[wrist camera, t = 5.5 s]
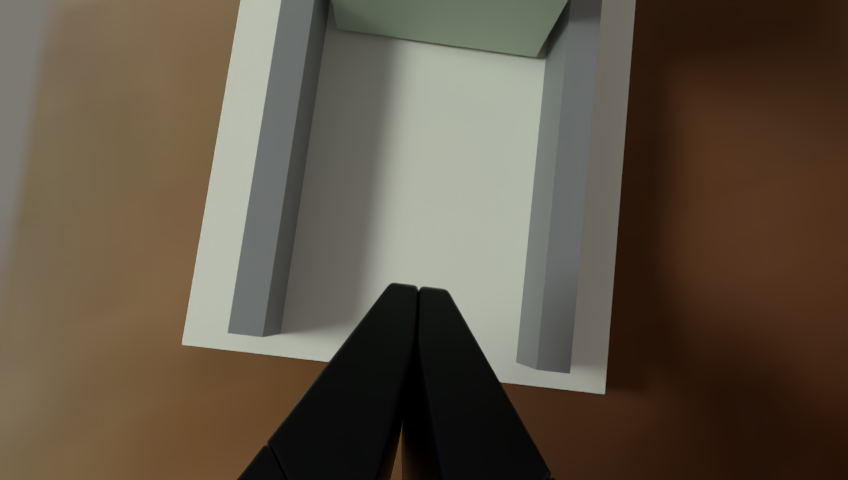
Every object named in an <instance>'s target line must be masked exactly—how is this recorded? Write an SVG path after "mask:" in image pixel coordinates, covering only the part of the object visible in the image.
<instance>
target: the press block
mask: <svg viewBox="0 0 848 480" xmlns="http://www.w3.org/2000/svg"><path fill="white" fill-rule="evenodd" d="M567 1H568V0H332V4H333V10H334V15H335V21H336V26H337V29H339V30H347V31H354V32H361V33H368V34H375V35H382V36H389V37H396V38H403V39H410V40H417V41H425V42H432V43H439V44H446V45H453V46H460V47H467V48H474V49H481V50H488V51H495V52H503V53H510V54H517V55H524V56H531V57H536V56H537V54H538V52H539V51H540V49H541V47H542V45H543V44H544V42H545V40H546V38H547V37H548V35H549V33H550V31H551V30H552V28H553V26H554V24H555V23H556V21H557V19H558V17H559V15H560V14H561V12H562V10H563V8H564V7H565V5H566V3H567Z"/></svg>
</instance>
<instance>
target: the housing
mask: <svg viewBox="0 0 848 480" xmlns="http://www.w3.org/2000/svg"><path fill="white" fill-rule="evenodd" d="M635 4H636V0H568V1H567V3H566V5H565V7H564V8H563V10H562V12H561V14H560V15H559V17H558V19H557V21H556V23H555V24H554V26H553V28H552V30H551V31H550V33H549V35H548V37H547V38H546V40H545V42H544V44H543V45H542V47H541V49H540V51H539V52H538V54H537V56H536V57H531V56H524V55H517V54H510V53H503V52H495V51H488V50H481V49H474V48H467V47H460V46H453V45H446V44H439V43H432V42H425V41H417V40H410V39H403V38H396V37H389V36H382V35H375V34H368V33H361V32H354V31H347V30H339V29H337V26H336V21H335V15H334V10H333V4H332V0H241V1H240V7H239V13H238V19H237V24H236V30H235V36H234V42H233V48H232V54H231V60H230V65H229V71H228V77H227V83H226V89H225V95H224V100H223V106H222V112H221V118H220V124H219V130H218V136H217V141H216V147H215V153H214V159H213V165H212V171H211V176H210V182H209V188H208V194H207V200H206V206H205V212H204V217H203V223H202V229H201V235H200V241H199V247H198V252H197V258H196V264H195V270H194V276H193V282H192V288H191V293H190V299H189V305H188V311H187V317H186V323H185V328H184V334H183V340H182V345H189V346H198V347H206V348H215V349H223V350H232V351H240V352H249V353H257V354H266V355H274V356H283V357H291V358H300V359H308V360H317V361H325V362H329V361H330V360H331V359H332V357H333V356H334V355H335V353H336V352H337V351H338V350H339V348H340V347H341V346H342V344H343V343H344V342H345V341H346V339H347V338H348V337H349V335H350V334H351V333H352V332H353V330H354V329H355V328H356V326H357V325H358V324H359V322H360V321H361V320H362V319H363V317H364V316H365V315H366V313H367V312H368V311H369V310H370V308H371V307H372V306H373V304H374V303H375V302H376V300H377V299H378V298H379V297H380V295H381V294H382V293H383V291H384V290H385V289H386V288H387V286H388V285H389V284H391V283H402V284H410V285H415V286H417V288H418V291H419V289H420V288H421V287H423V286H426V287H434V288H442V289H446V290H447V291H448V292H449V293H450V295H451V296H452V298H453V300H454V302H455V304H456V305H457V307H458V309H459V311H460V312H461V314H462V316H463V318H464V320H465V321H466V323H467V325H468V327H469V328H470V330H471V332H472V334H473V335H474V337H475V339H476V341H477V343H478V344H479V346H480V348H481V350H482V351H483V353H484V355H485V357H486V358H487V360H488V362H489V364H490V366H491V367H492V369H493V371H494V373H495V374H496V376H497V378H498V380H499V381H500V382H504V383H512V384H521V385H529V386H538V387H546V388H555V389H563V390H572V391H580V392H589V393H597V394H605V386H606V373H607V360H608V347H609V335H610V322H611V309H612V297H613V284H614V271H615V258H616V246H617V233H618V220H619V207H620V195H621V182H622V169H623V156H624V144H625V131H626V118H627V105H628V93H629V80H630V67H631V55H632V42H633V29H634V16H635Z"/></svg>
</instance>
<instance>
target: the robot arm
mask: <svg viewBox="0 0 848 480" xmlns="http://www.w3.org/2000/svg"><path fill="white" fill-rule="evenodd" d="M402 421H403V422H402ZM401 427H402V450H401V451H402V480H555V479H554V478H553V477H550V476H551V472H550V470H549V468H548V466H547V465H546V463H545V461H544V459H543V458H542V456H541V454H540V452H539V451H538V449H537V447H536V445H535V443H534V442H533V440H532V438H531V436H530V435H529V433H528V431H527V429H526V428H525V426H524V424H523V422H522V420H521V419H520V417H519V415H518V413H517V412H516V410H515V408H514V406H513V405H512V403H511V401H510V399H509V397H508V396H507V394H506V392H505V390H504V389H503V387H502V385H501V383H500V381H499V380H498V378H497V376H496V374H495V373H494V371H493V369H492V367H491V366H490V364H489V362H488V360H487V358H486V357H485V355H484V353H483V351H482V350H481V348H480V346H479V344H478V343H477V341H476V339H475V337H474V335H473V334H472V332H471V330H470V328H469V327H468V325H467V323H466V321H465V320H464V318H463V316H462V314H461V312H460V311H459V309H458V307H457V305H456V304H455V302H454V300H453V298H452V296H451V295H450V293H449V292H448V291H447V290H446V289H442V288H434V287H426V286H423V287H421V288H420V289H419V291H418V288H417V286H415V285H410V284H402V283H391V284H389V285H388V286H387V288H386V289H385V290H384V291H383V293H382V294H381V295H380V297H379V298H378V299H377V300H376V302H375V303H374V304H373V306H372V307H371V308H370V310H369V311H368V312H367V313H366V315H365V316H364V317H363V319H362V320H361V321H360V322H359V324H358V325H357V326H356V328H355V329H354V330H353V332H352V333H351V334H350V335H349V337H348V338H347V339H346V341H345V342H344V343H343V344H342V346H341V347H340V348H339V350H338V351H337V352H336V353H335V355H334V356H333V357H332V359H331V360H330V361H329V363H328V364H327V365H326V366H325V368H324V369H323V370H322V372H321V373H320V374H319V375H318V377H317V378H316V379H315V381H314V382H313V383H312V384H311V386H310V387H309V388H308V390H307V391H306V392H305V394H304V395H303V396H302V397H301V399H300V400H299V401H298V403H297V404H296V405H295V406H294V408H293V409H292V410H291V412H290V413H289V414H288V415H287V417H286V418H285V419H284V421H283V422H282V423H281V425H280V426H279V427H278V428H277V430H276V431H275V432H274V434H273V435H272V436H271V437H270V439H269V440H268V443H267V445H265V446H263V447H262V449H261V450H260V451H259V452H258V454H257V455H256V456H255V458H254V459H253V460H252V462H251V463H250V464H249V465H248V467H247V468H246V469H245V470H244V472H243V473H242V474H241V475H240V477H239V478H238V479H237V480H390V478H391V474H392V470H393V465H394V461H395V457H396V453H397V448H398V443H399V438H400V433H401Z"/></svg>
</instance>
